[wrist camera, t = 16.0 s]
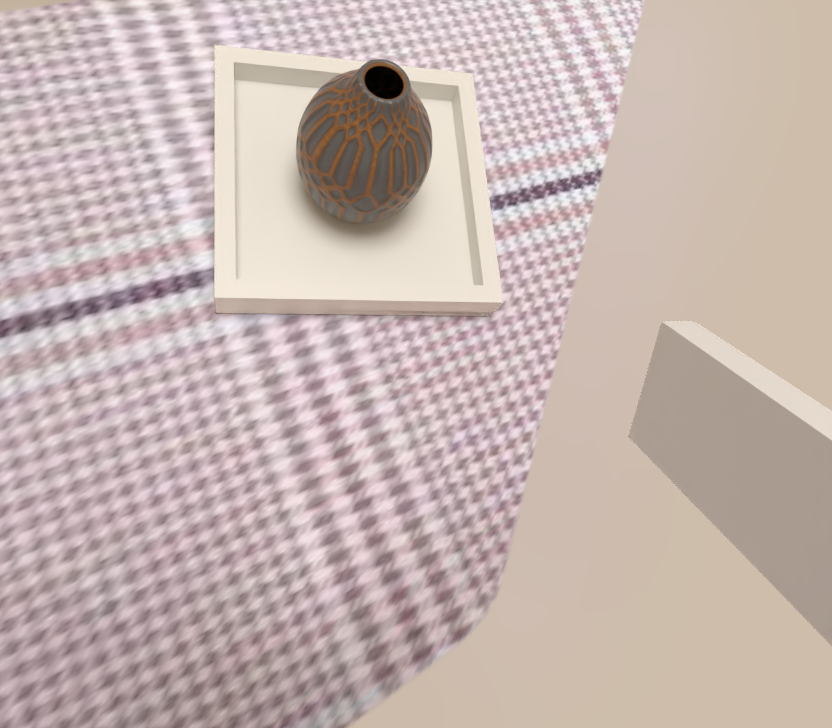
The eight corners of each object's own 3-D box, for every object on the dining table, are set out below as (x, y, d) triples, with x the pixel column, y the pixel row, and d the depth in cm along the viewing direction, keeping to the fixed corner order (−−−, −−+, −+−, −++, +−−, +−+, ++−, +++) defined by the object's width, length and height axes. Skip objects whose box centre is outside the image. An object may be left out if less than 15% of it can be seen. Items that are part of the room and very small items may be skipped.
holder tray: (215, 312, 34) (214, 297, 32) (215, 70, 39) (214, 44, 37) (490, 316, 38) (502, 302, 36) (462, 95, 43) (472, 73, 41)
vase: (435, 207, 39) (488, 108, 31) (341, 264, 36) (370, 172, 28) (364, 117, 39) (397, -3, 31) (265, 167, 37) (274, 50, 29)
